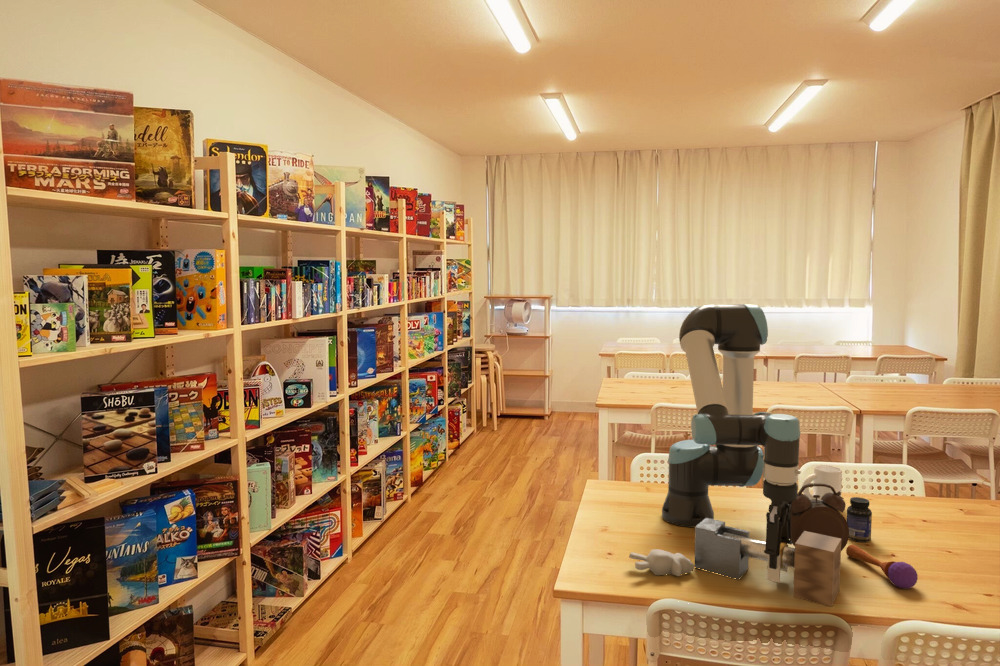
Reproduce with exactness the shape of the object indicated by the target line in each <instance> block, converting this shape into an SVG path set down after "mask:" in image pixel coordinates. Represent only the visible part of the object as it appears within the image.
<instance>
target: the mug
mask: <svg viewBox="0 0 1000 666" xmlns="http://www.w3.org/2000/svg"><path fill="white" fill-rule="evenodd" d="M842 481H843V469H841V468H840V467H838V466H834V465H830V464H829V465H828V464H819V465H817V464H816V465H815V466H814V467H813V473H812V474H808V475H807V476H806V478H804V479H803V481H802V485H801V488H802V487H803V486H804V485H807V484H812V482H813V483H821V484H827V485H830V486H832V487H833V488H834V490H835V491H836V493H837V492H839V491H840V492H841V493H842V485H843V484H842V483H843V482H842ZM826 493H833V491H832V490H831V488H828V487H823V486H812V492H811V491H810V487H808V488H805V490H804V491H803V492H802V494H805V495H806V496H807V497H808V498H809V499H816V498H814V497H813V495H820V498H817V500H821V498H822V496H823V495H824V494H826ZM840 496H841V497H842V494H841V495H840ZM821 501H822V500H821Z"/></svg>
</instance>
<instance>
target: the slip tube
mask: <svg viewBox="0 0 1000 666" xmlns="http://www.w3.org/2000/svg"><path fill="white" fill-rule="evenodd" d="M723 535H724V536H728V537H733V538H737V539H741V555H743V556H747V557H749V558H752V559H756V560H760V561H764V562H768V554H766V553H764V550H765V547H766V541H764V540H760V539H755V538H750V537H749V538H747V537H743V536H738V535H734V534H729V533H725V532H724V533H723ZM780 555H781V569H784V568H785V566H788V567H789V568H792V569H794V560H795V547H791V546H789V544H787V543H784V542H781V544H780Z"/></svg>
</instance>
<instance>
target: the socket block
mask: <svg viewBox="0 0 1000 666" xmlns="http://www.w3.org/2000/svg"><path fill="white" fill-rule="evenodd" d="M794 548H795V560H794V568H793V593H792V596H793V597H794V598H797V599H801V600H806V601H809V602H812V603H816V604H820V605H824V606H828V607H831V608H832V607H833V605H834V603H835V601H836V599H837V596H838V595H839V592H840V582H841V563H842V562H841V560H842V559H841V558H842V557H841V555H842V551H841V538H836V537H831V536H826V535H822V534H817V533H812V532H807V531H804V532H803V533H802V535H801V536H800V537H799V539H798V540H797V541H796V543H795V546H794Z"/></svg>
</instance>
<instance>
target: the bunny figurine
mask: <svg viewBox="0 0 1000 666" xmlns="http://www.w3.org/2000/svg"><path fill="white" fill-rule="evenodd" d="M628 558H630V559H633V560H637V561H635V562H634V567H635V569H636V570H637V571H638V570H639V571H643V570H648V569H649V570H650V571H651V572H652V573H653V574H654V576H660V575H666V574H669V575H673V576H676V577H681V576H682V575H681V574H685V573H688V574H690V572H694V569H695V568H694V566H695V563H693V562H692V561H691V560H690V558H688V557H686V556H685V555H684V554H682V553H681V552H676V553H672V552H671V551H666V550H663V549H658V548H657V549H656V548H655V549H654V548H653V549H651V550H650V552H649V553H648V554H647V555H644V554H641V553H637V552H630V553H629V556H628ZM638 560H639V561H638Z"/></svg>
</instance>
